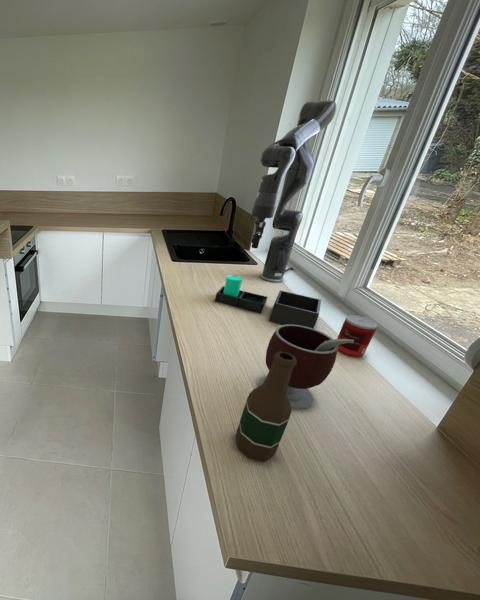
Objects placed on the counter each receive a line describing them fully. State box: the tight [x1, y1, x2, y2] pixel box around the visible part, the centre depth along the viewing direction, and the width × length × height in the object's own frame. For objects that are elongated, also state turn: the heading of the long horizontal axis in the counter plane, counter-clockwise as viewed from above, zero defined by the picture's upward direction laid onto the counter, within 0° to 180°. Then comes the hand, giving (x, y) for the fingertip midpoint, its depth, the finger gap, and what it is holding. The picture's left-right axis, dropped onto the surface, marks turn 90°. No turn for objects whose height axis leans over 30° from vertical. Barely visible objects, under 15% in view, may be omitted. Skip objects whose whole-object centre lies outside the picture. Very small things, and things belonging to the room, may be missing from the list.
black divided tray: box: [214, 285, 268, 315], centre depth 132 cm, size 9×18×4 cm, turn 53°
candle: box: [223, 274, 243, 297], centre depth 133 cm, size 6×6×12 cm
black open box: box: [268, 290, 322, 329], centre depth 120 cm, size 15×14×8 cm
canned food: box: [336, 314, 379, 358], centre depth 101 cm, size 8×8×11 cm
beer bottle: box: [235, 351, 297, 463], centre depth 64 cm, size 8×8×24 cm
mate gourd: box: [258, 324, 354, 410], centre depth 80 cm, size 16×14×20 cm
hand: (254, 245), depth 129 cm, fingers open, 8 cm apart
